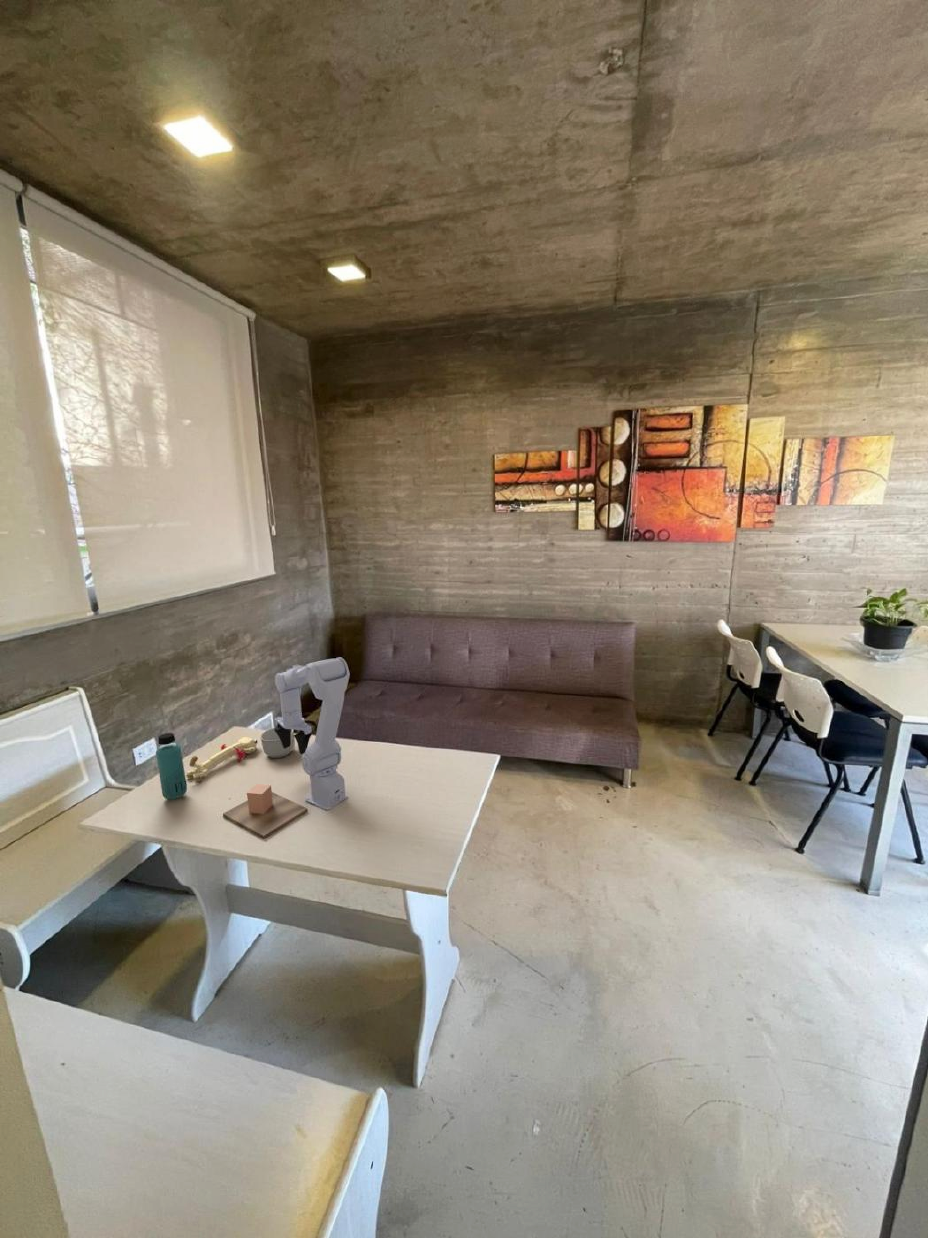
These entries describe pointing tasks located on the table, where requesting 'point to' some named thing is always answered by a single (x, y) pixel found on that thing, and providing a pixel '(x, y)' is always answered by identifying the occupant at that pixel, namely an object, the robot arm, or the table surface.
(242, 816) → the board
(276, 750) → the teacup
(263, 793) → the block
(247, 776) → the table surface
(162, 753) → the beverage bottle
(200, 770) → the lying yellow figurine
